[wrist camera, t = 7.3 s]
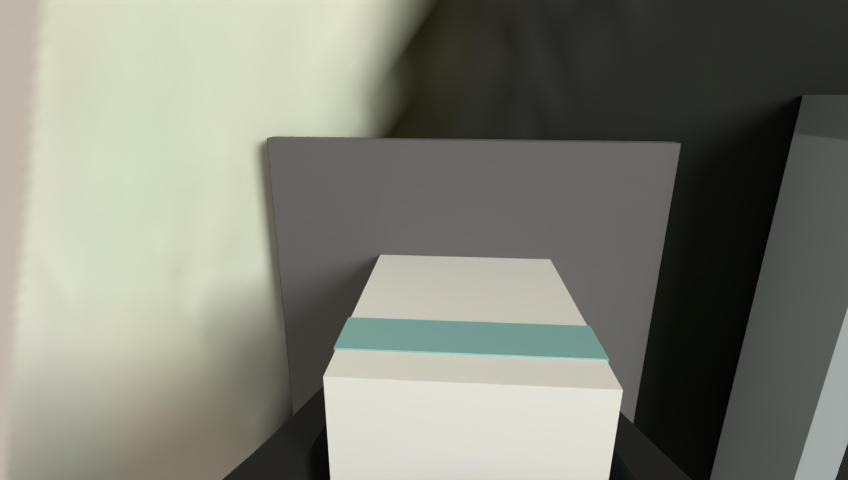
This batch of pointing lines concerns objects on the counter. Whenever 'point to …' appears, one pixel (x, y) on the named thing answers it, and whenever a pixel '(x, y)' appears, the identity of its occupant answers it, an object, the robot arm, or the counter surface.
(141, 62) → the counter surface
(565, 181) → the gray panel
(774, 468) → the tray rim
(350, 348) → the carton
